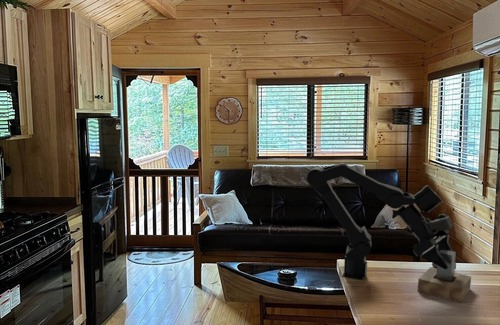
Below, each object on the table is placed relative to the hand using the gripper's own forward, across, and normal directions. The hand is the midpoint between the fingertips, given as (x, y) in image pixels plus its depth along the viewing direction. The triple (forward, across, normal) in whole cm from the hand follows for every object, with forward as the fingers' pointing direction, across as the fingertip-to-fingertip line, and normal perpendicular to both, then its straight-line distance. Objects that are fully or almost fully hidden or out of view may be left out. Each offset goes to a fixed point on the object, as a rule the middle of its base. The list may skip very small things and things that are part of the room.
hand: (450, 264), depth 131 cm
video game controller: (+2, +16, +10) cm, 19 cm away
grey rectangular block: (+5, 0, +7) cm, 9 cm away
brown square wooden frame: (+5, 0, +7) cm, 9 cm away
